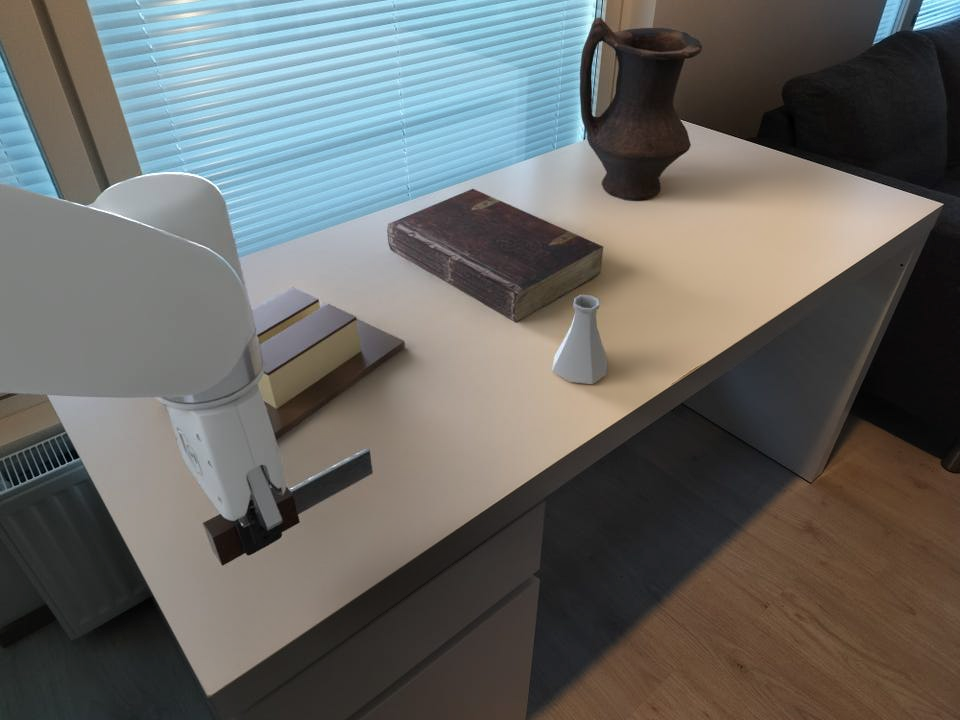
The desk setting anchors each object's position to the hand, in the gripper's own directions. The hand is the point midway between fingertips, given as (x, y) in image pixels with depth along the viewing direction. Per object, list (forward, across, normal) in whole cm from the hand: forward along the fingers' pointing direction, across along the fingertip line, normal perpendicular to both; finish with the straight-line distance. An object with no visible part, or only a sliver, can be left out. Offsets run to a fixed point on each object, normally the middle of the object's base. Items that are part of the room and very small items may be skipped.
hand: (256, 533), depth 58 cm
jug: (+5, -36, +92) cm, 99 cm away
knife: (0, 0, +4) cm, 4 cm away
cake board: (+7, -28, +17) cm, 34 cm away
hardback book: (+6, -32, +54) cm, 63 cm away
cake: (+7, -28, +17) cm, 34 cm away
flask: (+7, -4, +45) cm, 46 cm away
